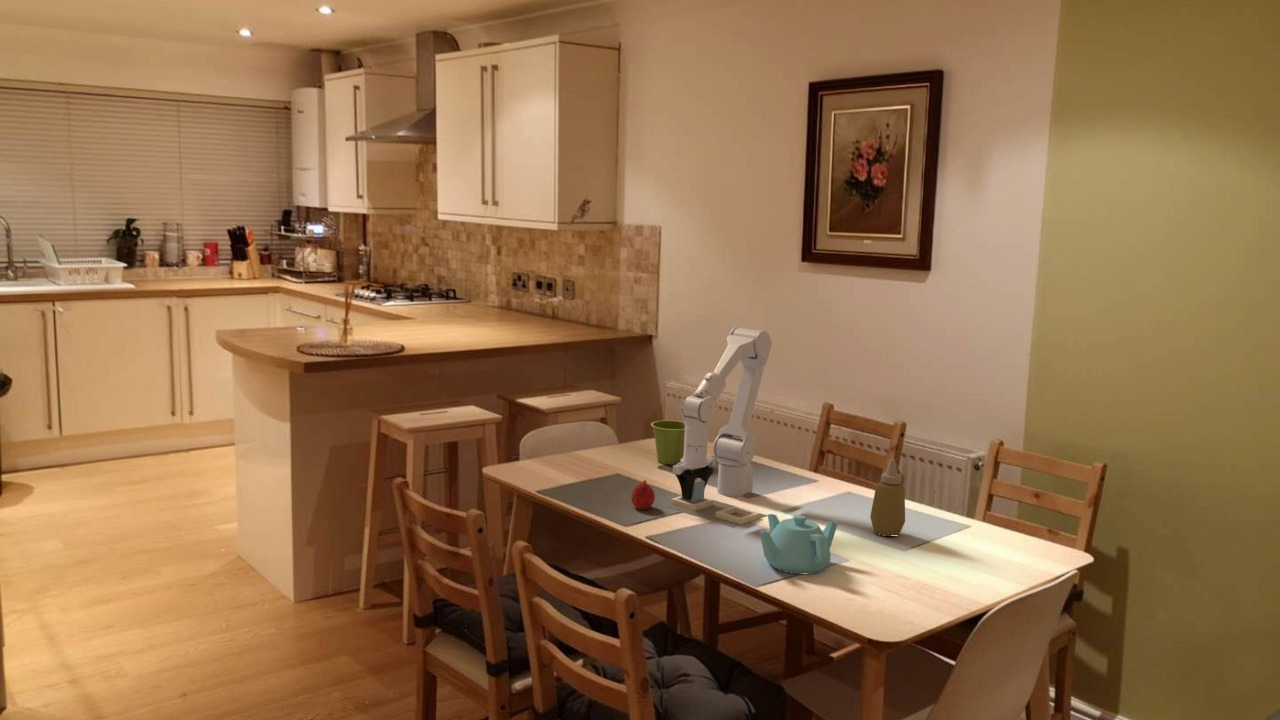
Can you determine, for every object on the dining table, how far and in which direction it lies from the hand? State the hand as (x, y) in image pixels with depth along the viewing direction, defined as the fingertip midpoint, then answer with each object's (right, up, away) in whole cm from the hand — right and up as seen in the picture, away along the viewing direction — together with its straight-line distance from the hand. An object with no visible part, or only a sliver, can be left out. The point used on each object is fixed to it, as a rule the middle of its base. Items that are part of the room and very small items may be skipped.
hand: (692, 497), depth 253 cm
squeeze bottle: (+45, -7, -13) cm, 48 cm away
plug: (0, -2, 0) cm, 2 cm away
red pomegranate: (-13, -3, -4) cm, 14 cm away
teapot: (+20, -10, -36) cm, 42 cm away
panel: (+5, -4, -4) cm, 8 cm away
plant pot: (-5, +4, +44) cm, 45 cm away
